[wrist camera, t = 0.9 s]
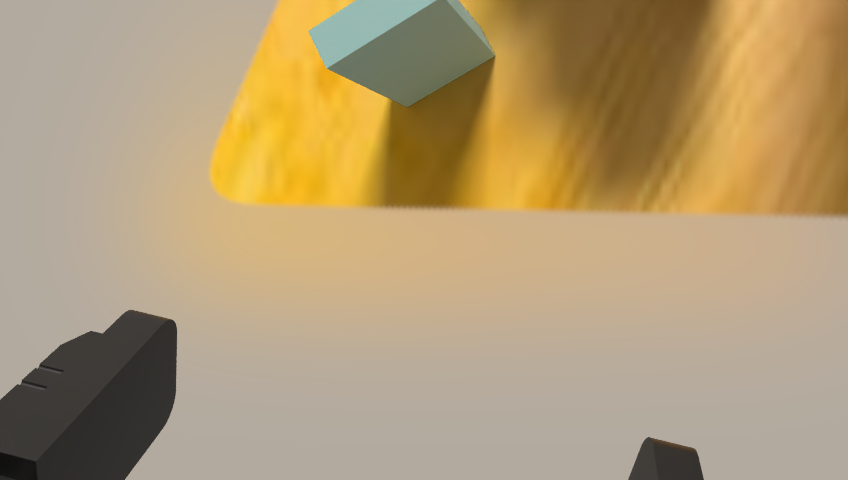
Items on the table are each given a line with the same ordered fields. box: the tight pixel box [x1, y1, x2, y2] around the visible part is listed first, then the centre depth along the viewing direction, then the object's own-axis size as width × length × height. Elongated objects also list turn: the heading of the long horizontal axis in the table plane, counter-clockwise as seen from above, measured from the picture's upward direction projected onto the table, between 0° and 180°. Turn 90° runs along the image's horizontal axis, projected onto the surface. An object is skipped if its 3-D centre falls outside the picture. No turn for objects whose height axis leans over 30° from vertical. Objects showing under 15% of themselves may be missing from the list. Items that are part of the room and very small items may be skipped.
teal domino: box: [308, 0, 495, 107], centre depth 32 cm, size 2×5×10 cm, turn 116°
